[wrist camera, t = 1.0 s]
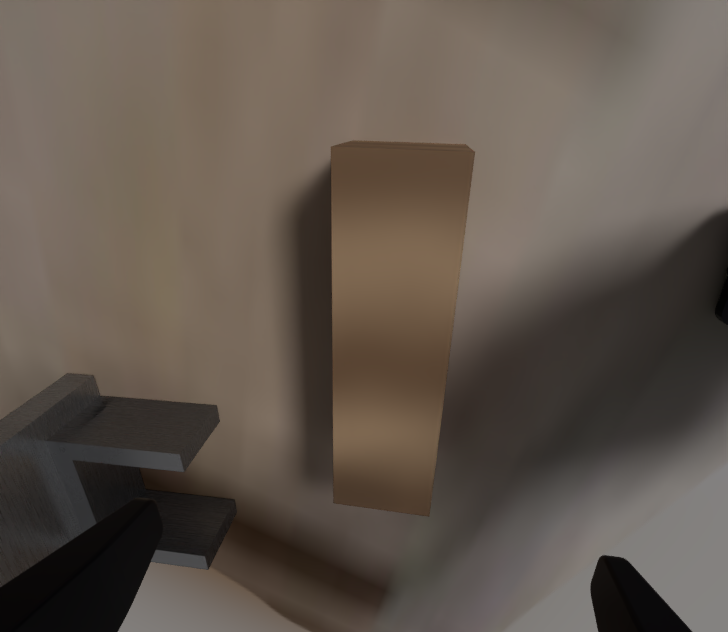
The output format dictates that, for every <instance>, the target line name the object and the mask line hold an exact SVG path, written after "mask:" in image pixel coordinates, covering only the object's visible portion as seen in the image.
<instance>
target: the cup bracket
mask: <svg viewBox="0 0 728 632" xmlns="http://www.w3.org/2000/svg"><path fill="white" fill-rule="evenodd" d="M219 422H220V420H219V415H218V410H217V405H205V404H193V403H181V402H169V401H157V400H145V399H133V398H121V397H109V396H100V394H99V391H98V388H97V385H96V382H95V379H94V376H93V375H81V374H68V373H67V374H66V375H64V376H63V377H62V378H60V379H59V380H57V381H56V382H54V383H53V384H51V385H50V386H49V387H47V388H46V389H44V390H43V391H41V392H40V393H39V394H37V395H36V396H34V397H33V398H31V399H30V400H28V401H27V402H26V403H24V404H23V405H21V406H20V407H18V408H17V409H16V410H14V411H13V412H11V413H10V414H8V415H7V416H5V417H4V418H3V419H1V420H0V587H1V586H3V585H4V584H6V583H7V582H9V581H10V580H12V579H13V578H15V577H16V576H18V575H19V574H21V573H22V572H24V571H25V570H27V569H28V568H30V567H31V566H33V565H34V564H36V563H37V562H39V561H40V560H42V559H43V558H45V557H46V556H48V555H49V554H51V553H52V552H54V551H55V550H57V549H58V548H60V547H61V546H63V545H64V544H66V543H68V542H69V541H71V540H72V539H74V538H75V537H77V536H78V535H80V534H81V533H83V532H84V531H86V530H87V529H89V528H90V527H92V526H93V525H95V524H96V523H98V522H99V521H101V520H102V519H104V518H105V517H107V516H108V515H110V514H111V513H113V512H114V511H116V510H117V509H119V508H120V507H122V506H123V505H125V504H126V503H128V502H129V501H131V500H133V499H135V498H147V499H153V500H155V501H156V503H157V505H158V509H159V512H160V515H161V519H162V522H163V534H162V537H161V540H160V542H159V544H158V546H157V549H156V551H155V553H154V555H153V558H152V560H151V562H156V563H163V564H171V565H177V566H185V567H192V568H199V569H206V570H208V569H209V567H210V565H211V563H212V561H213V559H214V557H215V555H216V553H217V551H218V549H219V547H220V545H221V543H222V541H223V539H224V537H225V535H226V533H227V531H228V529H229V527H230V525H231V523H232V521H233V519H234V517H235V515H236V513H237V510H236V505H235V500H233V499H224V498H215V497H206V496H198V495H189V494H180V493H172V492H163V491H154V490H146V489H145V487H144V483H143V480H142V477H141V473H140V470H139V467H142V468H151V469H161V470H170V471H179V472H184V471H185V470H186V469H187V467H188V466H189V464H190V463H191V461H192V460H193V459H194V457H195V456H196V454H197V453H198V452H199V450H200V449H201V447H202V446H203V444H204V443H205V442H206V440H207V439H208V437H209V436H210V435H211V433H212V432H213V430H214V429H215V427H216V426H217V425H218V423H219Z"/></svg>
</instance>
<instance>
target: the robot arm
mask: <svg viewBox="0 0 728 632" xmlns="http://www.w3.org/2000/svg"><path fill="white" fill-rule="evenodd" d="M726 273H727V278H726V281H725V284H724V286H723V289H722V292H721V295H720V298H719V300H718V303H717V306H716V309H715V314H716V317H717V318H718V319H720V320H721V321H722V322H724V323H725V324H727V325H728V268H727V272H726ZM162 534H163V522H162V519H161V515H160V512H159V509H158V505H157V503H156V501H155V500H153V499H147V498H135V499H133V500H131V501H129V502H128V503H126V504H125V505H123V506H122V507H120V508H119V509H117V510H116V511H114V512H113V513H111V514H110V515H108V516H107V517H105V518H104V519H102V520H101V521H99V522H98V523H96V524H95V525H93V526H92V527H90V528H89V529H87V530H86V531H84V532H83V533H81V534H80V535H78V536H77V537H75V538H74V539H72V540H71V541H69V542H68V543H66V544H64V545H63V546H61V547H60V548H58V549H57V550H55V551H54V552H52V553H51V554H49V555H48V556H46V557H45V558H43V559H42V560H40V561H39V562H37V563H36V564H34V565H33V566H31V567H30V568H28V569H27V570H25V571H24V572H22V573H21V574H19V575H18V576H16V577H15V578H13V579H12V580H10V581H9V582H7V583H6V584H4V585H3V586H1V587H0V632H118V630H119V628H120V626H121V624H122V623H123V621H124V619H125V617H126V615H127V613H128V611H129V609H130V607H131V605H132V603H133V601H134V598H135V596H136V594H137V592H138V589H139V587H140V585H141V583H142V580H143V578H144V576H145V574H146V571H147V569H148V567H149V564H150V562H151V560H152V558H153V555H154V553H155V551H156V549H157V546H158V544H159V542H160V540H161V537H162ZM591 598H592V603H593V608H594V612H595V617H596V623H597V628H598V632H692V631H691V630H690V629H689V628H688V626H687V625H686V624H685V623H684V622H683V621H682V620H681V619H680V618H679V616H678V615H677V614H676V613H675V612H674V611H673V610H672V609H671V608H670V607H669V606H668V604H667V603H666V602H665V601H664V600H663V599H662V598H661V597H660V596H659V594H658V593H657V592H656V591H655V590H654V589H653V588H652V587H651V586H650V585H649V583H648V582H647V581H646V580H645V579H644V578H643V577H642V576H641V575H640V573H639V572H638V571H637V570H636V569H635V568H634V567H633V566H632V565H631V564H630V563H629V562H628V561H627V560H625V559H624V558H621V557H614V556H606V555H602V556H601V557H600V558H599V560H598V562H597V566H596V569H595V572H594V575H593V578H592V581H591Z"/></svg>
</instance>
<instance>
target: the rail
mask: <svg viewBox="0 0 728 632" xmlns="http://www.w3.org/2000/svg"><path fill="white" fill-rule="evenodd" d="M474 155H475V152H474V151H473V150H472V149H471V148H469V147H468V146H467V145H466V144H439V143H410V142H380V141H350V142H346V143H342V144H339V145H335V146H332V147H331V221H332V358H333V495H334V503H336V504H343V505H350V506H357V507H365V508H372V509H379V510H386V511H393V512H401V513H408V514H415V515H422V516H429V514H430V506H431V498H432V490H433V482H434V474H435V466H436V458H437V450H438V442H439V434H440V426H441V418H442V411H443V403H444V395H445V387H446V379H447V371H448V363H449V355H450V347H451V339H452V331H453V323H454V315H455V307H456V299H457V291H458V283H459V275H460V267H461V259H462V251H463V243H464V235H465V227H466V219H467V211H468V203H469V195H470V187H471V179H472V171H473V163H474Z"/></svg>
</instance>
